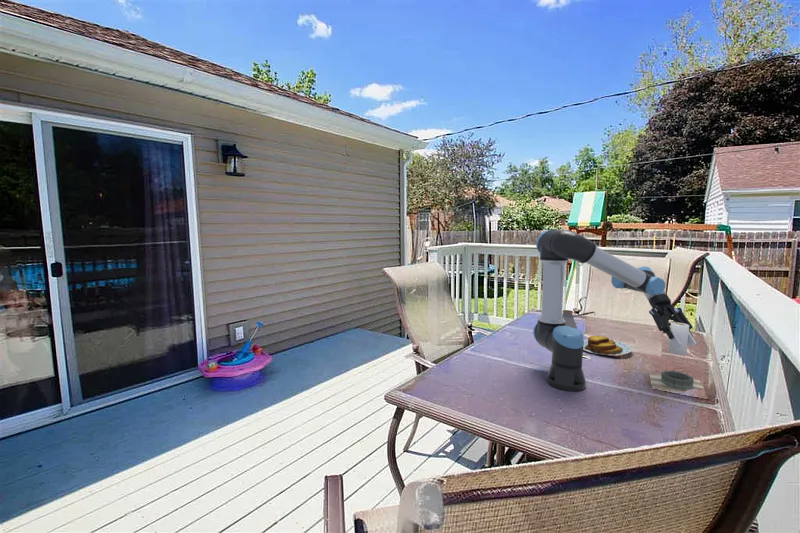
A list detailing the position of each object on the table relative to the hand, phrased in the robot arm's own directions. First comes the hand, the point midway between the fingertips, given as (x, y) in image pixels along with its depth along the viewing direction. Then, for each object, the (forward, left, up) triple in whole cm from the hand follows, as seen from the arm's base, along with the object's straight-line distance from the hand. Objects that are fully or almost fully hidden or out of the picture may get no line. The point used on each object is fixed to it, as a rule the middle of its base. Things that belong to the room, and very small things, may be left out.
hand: (686, 345), depth 147 cm
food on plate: (+37, +29, -19) cm, 51 cm away
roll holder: (+2, +2, -18) cm, 19 cm away
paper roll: (+3, +2, -4) cm, 6 cm away
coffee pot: (+64, +46, -19) cm, 81 cm away
